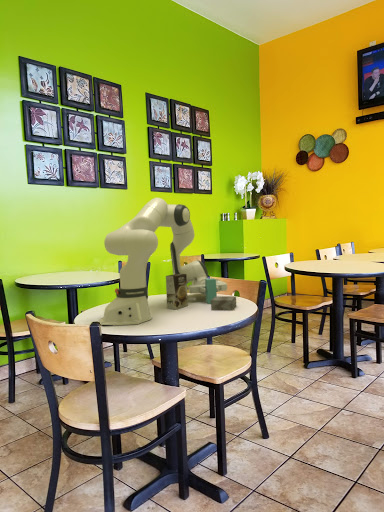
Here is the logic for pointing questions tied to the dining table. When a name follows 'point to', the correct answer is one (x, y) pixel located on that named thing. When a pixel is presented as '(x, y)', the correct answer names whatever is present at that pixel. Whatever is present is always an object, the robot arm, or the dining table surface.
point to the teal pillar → (210, 289)
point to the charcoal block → (223, 303)
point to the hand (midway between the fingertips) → (211, 290)
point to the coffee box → (176, 291)
